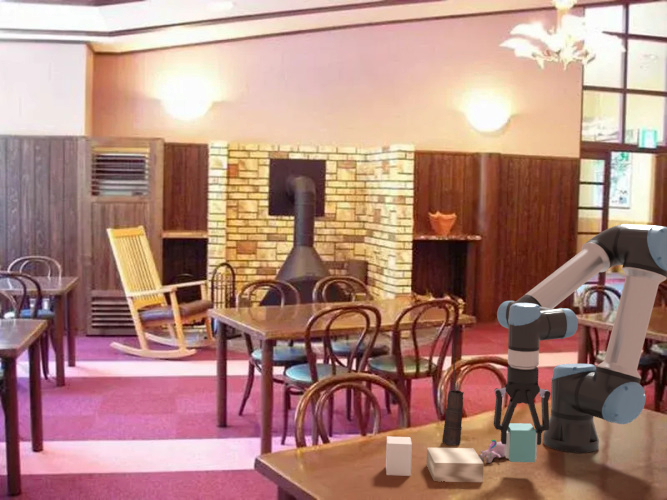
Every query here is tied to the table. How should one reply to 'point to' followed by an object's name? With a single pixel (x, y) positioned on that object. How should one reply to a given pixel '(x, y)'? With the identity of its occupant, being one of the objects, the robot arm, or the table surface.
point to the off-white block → (398, 456)
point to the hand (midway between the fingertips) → (520, 456)
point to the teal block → (522, 442)
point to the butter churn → (453, 414)
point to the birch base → (454, 465)
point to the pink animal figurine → (493, 451)
